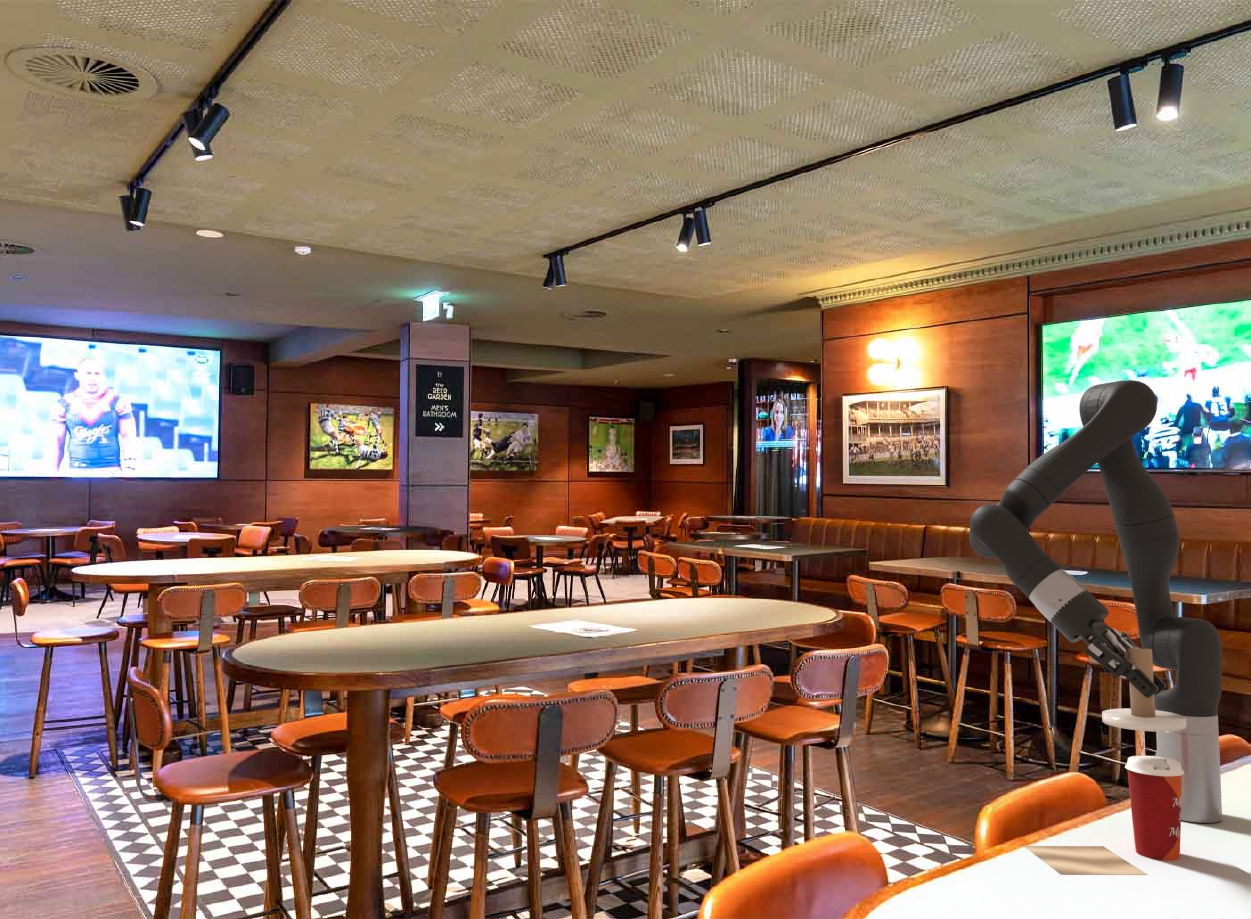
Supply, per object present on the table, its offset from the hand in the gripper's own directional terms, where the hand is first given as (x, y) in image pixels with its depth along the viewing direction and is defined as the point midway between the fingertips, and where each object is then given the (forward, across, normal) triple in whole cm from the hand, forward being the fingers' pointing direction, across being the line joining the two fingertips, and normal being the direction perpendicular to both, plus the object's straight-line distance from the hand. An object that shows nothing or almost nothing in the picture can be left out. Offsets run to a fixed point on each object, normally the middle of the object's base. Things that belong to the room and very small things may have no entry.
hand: (1157, 691), depth 140 cm
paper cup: (+16, 0, +18) cm, 24 cm away
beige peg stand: (+2, 0, +5) cm, 5 cm away
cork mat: (+11, -10, +23) cm, 27 cm away
